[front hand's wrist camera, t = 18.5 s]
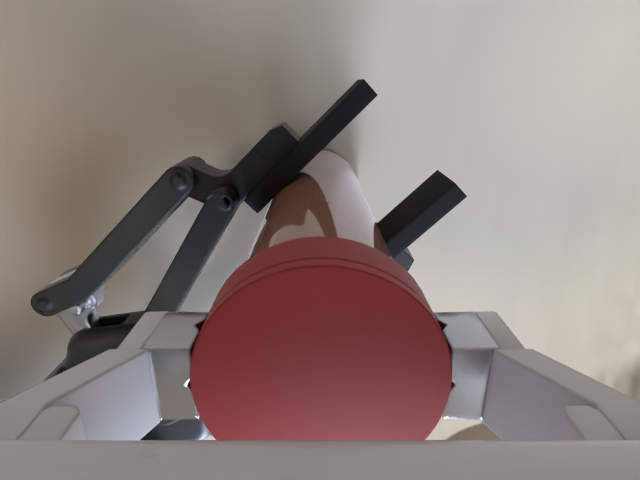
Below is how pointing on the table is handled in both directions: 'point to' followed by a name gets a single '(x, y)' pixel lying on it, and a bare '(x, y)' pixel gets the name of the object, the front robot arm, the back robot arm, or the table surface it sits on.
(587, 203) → the table surface
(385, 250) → the jar
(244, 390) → the lid
